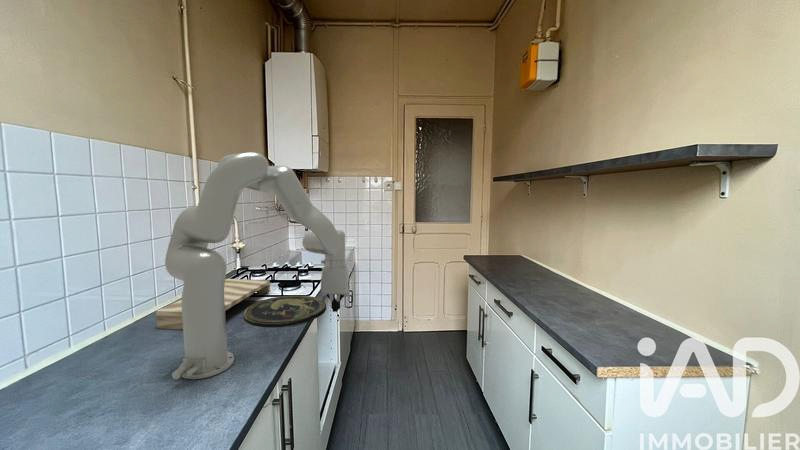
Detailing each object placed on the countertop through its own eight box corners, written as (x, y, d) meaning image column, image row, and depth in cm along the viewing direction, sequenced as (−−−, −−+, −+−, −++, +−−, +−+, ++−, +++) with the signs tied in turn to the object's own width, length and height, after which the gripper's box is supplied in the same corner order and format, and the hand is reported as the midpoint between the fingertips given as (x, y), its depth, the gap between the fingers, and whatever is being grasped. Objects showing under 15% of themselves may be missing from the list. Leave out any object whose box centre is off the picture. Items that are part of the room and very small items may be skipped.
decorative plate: (309, 325, 109) (225, 320, 112) (309, 330, 109) (225, 325, 112) (335, 296, 138) (268, 293, 141) (335, 300, 139) (268, 297, 141)
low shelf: (214, 330, 107) (213, 313, 106) (157, 328, 109) (156, 310, 108) (270, 293, 146) (269, 280, 145) (227, 291, 147) (227, 278, 147)
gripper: (312, 265, 118) (313, 313, 120) (352, 266, 117) (352, 315, 119) (319, 260, 126) (319, 306, 128) (357, 261, 125) (357, 307, 127)
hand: (335, 310), depth 124 cm, fingers closed
